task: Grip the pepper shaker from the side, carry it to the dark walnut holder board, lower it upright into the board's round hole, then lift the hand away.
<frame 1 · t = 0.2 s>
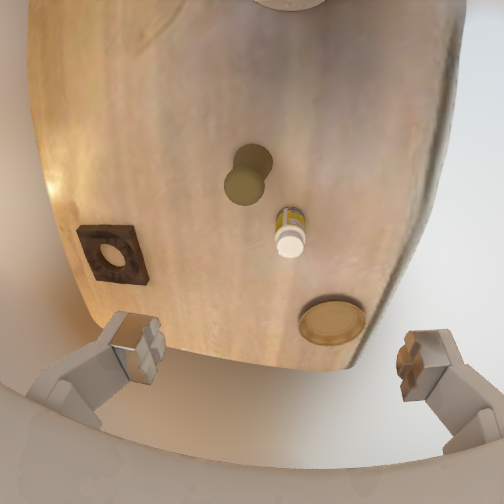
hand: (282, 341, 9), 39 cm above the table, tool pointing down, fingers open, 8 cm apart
holder: (114, 252, 61), on the table
plant saucer: (331, 316, 64), on the table
supplement bottle: (290, 218, 51), on the table
pepper shaker: (253, 161, 46), on the table
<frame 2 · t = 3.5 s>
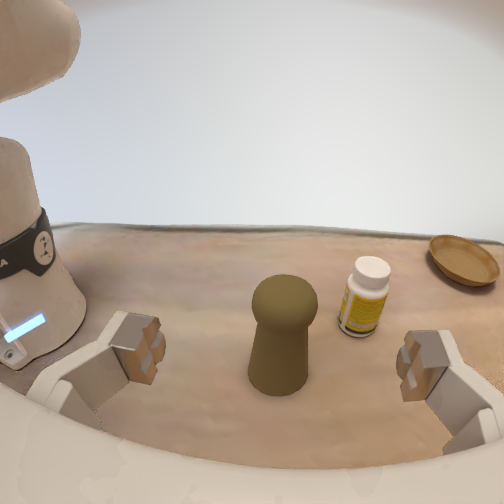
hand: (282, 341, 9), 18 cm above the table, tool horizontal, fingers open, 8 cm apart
plant saucer: (460, 269, 43), on the table
supplement bottle: (356, 324, 34), on the table
pepper shaker: (277, 372, 29), on the table
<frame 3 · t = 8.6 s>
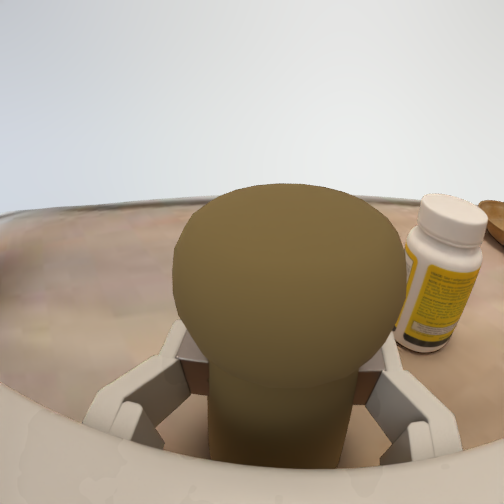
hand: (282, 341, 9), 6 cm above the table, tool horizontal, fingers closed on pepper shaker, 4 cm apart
supplement bottle: (416, 330, 17), on the table
pepper shaker: (276, 443, 12), on the table, touching gripper
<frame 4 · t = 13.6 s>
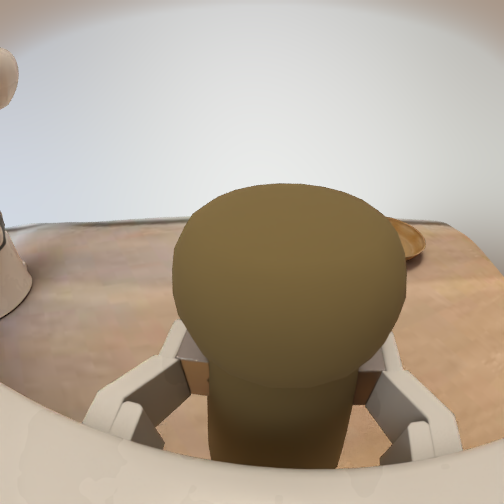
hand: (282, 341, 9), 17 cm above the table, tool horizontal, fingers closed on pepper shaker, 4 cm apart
plant saucer: (381, 247, 48), on the table
pepper shaker: (276, 443, 12), point 11 cm above the table, touching gripper
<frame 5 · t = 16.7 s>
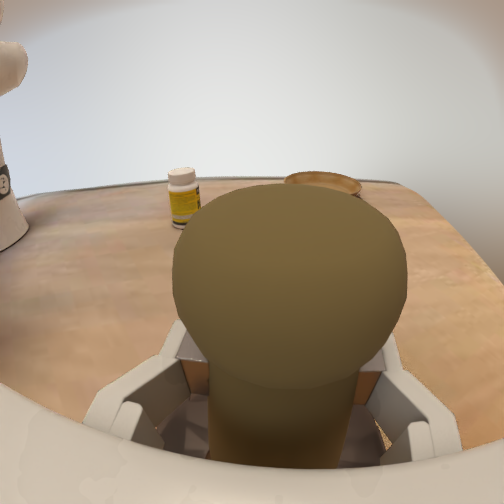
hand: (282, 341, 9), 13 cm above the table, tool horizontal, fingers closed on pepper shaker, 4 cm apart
holder: (269, 475, 15), on the table
plant saucer: (322, 195, 56), on the table
supplement bottle: (187, 223, 46), on the table
pepper shaker: (276, 443, 12), point 6 cm above the table, touching gripper
when the fingers open (6 cm above the table, at t = 18.9 s): pepper shaker stays where it is, resting in holder.
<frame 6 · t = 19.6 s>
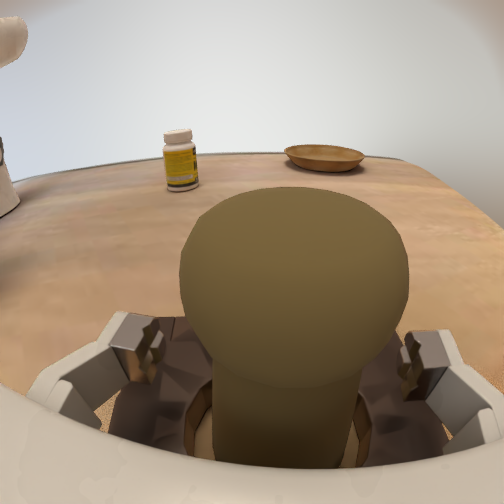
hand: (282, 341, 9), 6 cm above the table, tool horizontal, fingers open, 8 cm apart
holder: (277, 443, 11), on the table
plant saucer: (324, 165, 53), on the table
supplement bottle: (183, 188, 43), on the table
pepper shaker: (279, 443, 12), resting in holder
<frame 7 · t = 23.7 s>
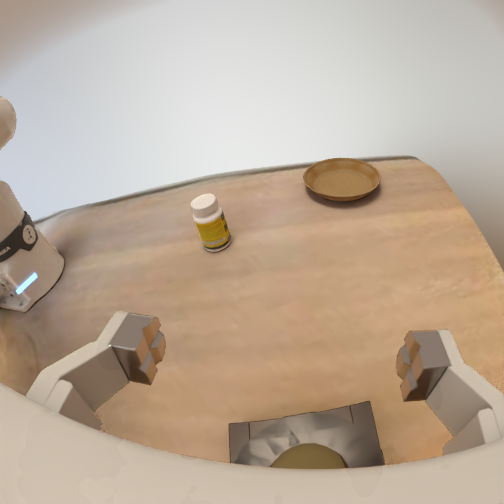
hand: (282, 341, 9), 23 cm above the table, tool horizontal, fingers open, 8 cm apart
holder: (308, 482, 22), on the table
plant saucer: (342, 187, 55), on the table
supplement bottle: (217, 243, 50), on the table
pepper shaker: (309, 481, 22), resting in holder
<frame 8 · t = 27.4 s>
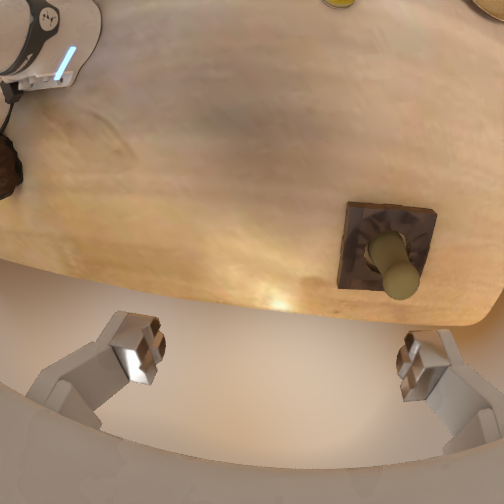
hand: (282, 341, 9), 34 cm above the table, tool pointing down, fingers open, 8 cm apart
holder: (384, 246, 44), on the table
owl: (5, 162, 45), on the table
pepper shaker: (385, 245, 44), resting in holder
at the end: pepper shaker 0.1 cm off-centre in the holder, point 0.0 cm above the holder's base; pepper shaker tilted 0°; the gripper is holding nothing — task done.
